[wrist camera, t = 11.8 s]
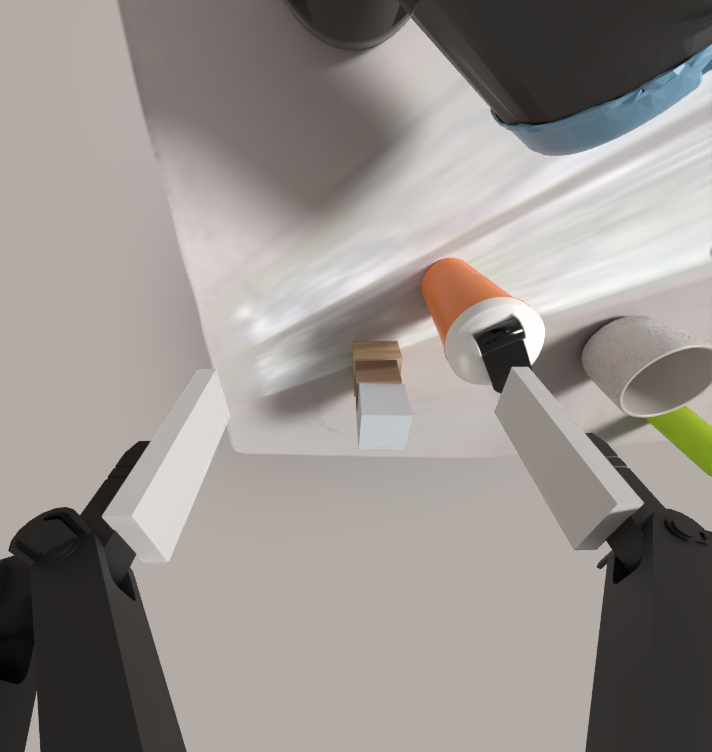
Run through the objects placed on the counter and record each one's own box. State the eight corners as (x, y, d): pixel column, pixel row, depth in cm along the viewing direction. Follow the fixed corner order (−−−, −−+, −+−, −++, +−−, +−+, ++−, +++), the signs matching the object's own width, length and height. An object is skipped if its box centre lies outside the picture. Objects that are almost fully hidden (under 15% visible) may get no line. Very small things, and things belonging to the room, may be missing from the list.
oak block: (352, 341, 48) (353, 359, 44) (397, 340, 48) (402, 358, 44) (353, 377, 52) (354, 396, 48) (394, 376, 52) (398, 395, 48)
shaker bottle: (433, 324, 47) (481, 416, 30) (402, 277, 42) (439, 357, 26) (489, 289, 44) (574, 371, 27) (461, 235, 39) (544, 295, 23)
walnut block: (354, 361, 44) (356, 382, 40) (396, 359, 44) (401, 380, 40) (355, 393, 48) (356, 415, 44) (393, 391, 48) (398, 414, 44)
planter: (673, 324, 48) (747, 363, 39) (607, 382, 55) (657, 426, 46) (618, 295, 45) (685, 330, 36) (555, 360, 51) (598, 404, 43)
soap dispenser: (638, 406, 58) (749, 504, 42) (679, 393, 57) (812, 489, 41) (636, 425, 62) (739, 523, 46) (675, 413, 60) (797, 510, 44)
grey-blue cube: (359, 383, 40) (361, 414, 35) (404, 384, 41) (412, 415, 36) (356, 416, 44) (358, 449, 39) (398, 416, 44) (405, 449, 39)
